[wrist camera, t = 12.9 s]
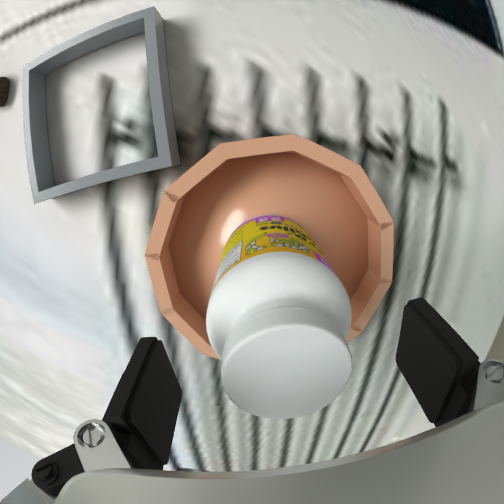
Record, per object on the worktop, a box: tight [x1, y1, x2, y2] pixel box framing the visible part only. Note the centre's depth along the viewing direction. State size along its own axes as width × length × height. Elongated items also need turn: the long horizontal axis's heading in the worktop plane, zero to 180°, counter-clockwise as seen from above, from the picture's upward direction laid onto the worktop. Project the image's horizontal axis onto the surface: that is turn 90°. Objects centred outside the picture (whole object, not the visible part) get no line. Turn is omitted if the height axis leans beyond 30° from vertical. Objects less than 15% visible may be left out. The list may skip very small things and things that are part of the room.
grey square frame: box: [23, 7, 181, 204], centre depth 17 cm, size 13×13×2 cm
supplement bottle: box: [206, 214, 353, 419], centre depth 15 cm, size 7×7×13 cm
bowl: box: [145, 134, 394, 360], centre depth 21 cm, size 17×17×4 cm
